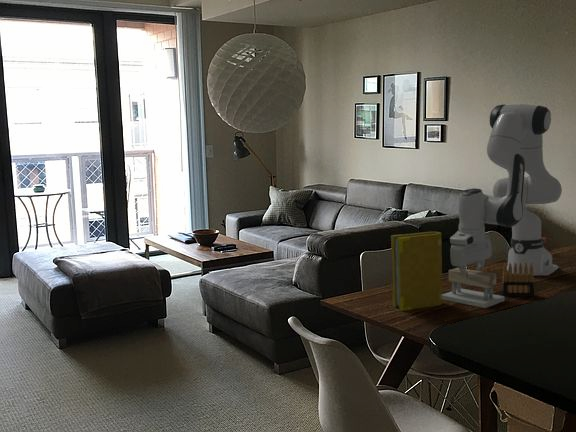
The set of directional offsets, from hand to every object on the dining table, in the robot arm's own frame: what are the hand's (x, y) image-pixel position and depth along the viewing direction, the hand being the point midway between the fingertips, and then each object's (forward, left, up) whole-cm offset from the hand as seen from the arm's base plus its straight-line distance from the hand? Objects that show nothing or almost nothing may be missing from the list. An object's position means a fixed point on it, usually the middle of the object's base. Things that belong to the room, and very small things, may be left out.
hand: (472, 274), depth 227 cm
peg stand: (0, 0, -9) cm, 9 cm away
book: (+17, -10, -9) cm, 22 cm away
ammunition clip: (-15, +9, -9) cm, 20 cm away
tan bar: (0, 0, -3) cm, 3 cm away
